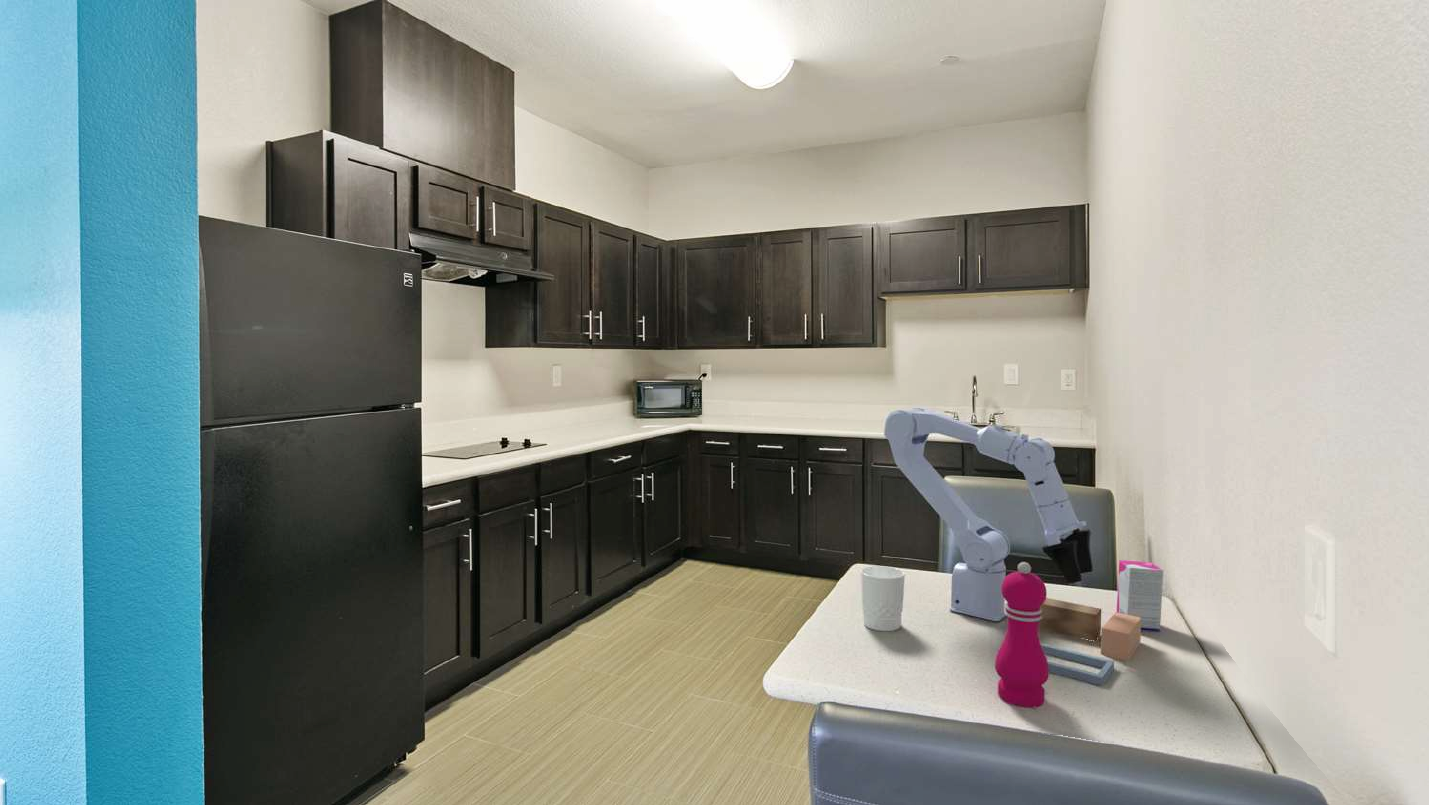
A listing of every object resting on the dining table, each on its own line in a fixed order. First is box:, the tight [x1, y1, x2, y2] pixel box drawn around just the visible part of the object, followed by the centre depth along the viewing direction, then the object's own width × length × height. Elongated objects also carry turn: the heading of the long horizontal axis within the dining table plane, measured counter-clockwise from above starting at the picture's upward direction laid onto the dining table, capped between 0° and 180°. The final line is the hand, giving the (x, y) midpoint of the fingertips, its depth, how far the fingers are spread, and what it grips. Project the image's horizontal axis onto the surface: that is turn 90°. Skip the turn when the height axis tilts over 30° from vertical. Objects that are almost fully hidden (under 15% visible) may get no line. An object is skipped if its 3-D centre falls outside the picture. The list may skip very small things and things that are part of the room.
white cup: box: [860, 565, 906, 632], centre depth 133 cm, size 8×8×10 cm
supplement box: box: [1116, 559, 1164, 632], centre depth 133 cm, size 6×6×12 cm
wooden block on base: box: [1038, 597, 1102, 642], centre depth 130 cm, size 11×4×5 cm, turn 50°
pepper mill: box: [994, 561, 1050, 708], centre depth 104 cm, size 7×7×20 cm
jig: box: [1040, 642, 1115, 686], centre depth 116 cm, size 15×14×1 cm
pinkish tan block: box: [1100, 611, 1142, 661], centre depth 122 cm, size 4×10×5 cm, turn 139°
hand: (1081, 577), depth 128 cm, fingers open, 7 cm apart
